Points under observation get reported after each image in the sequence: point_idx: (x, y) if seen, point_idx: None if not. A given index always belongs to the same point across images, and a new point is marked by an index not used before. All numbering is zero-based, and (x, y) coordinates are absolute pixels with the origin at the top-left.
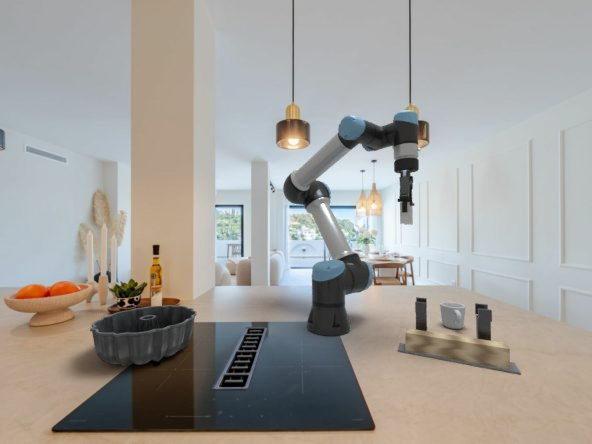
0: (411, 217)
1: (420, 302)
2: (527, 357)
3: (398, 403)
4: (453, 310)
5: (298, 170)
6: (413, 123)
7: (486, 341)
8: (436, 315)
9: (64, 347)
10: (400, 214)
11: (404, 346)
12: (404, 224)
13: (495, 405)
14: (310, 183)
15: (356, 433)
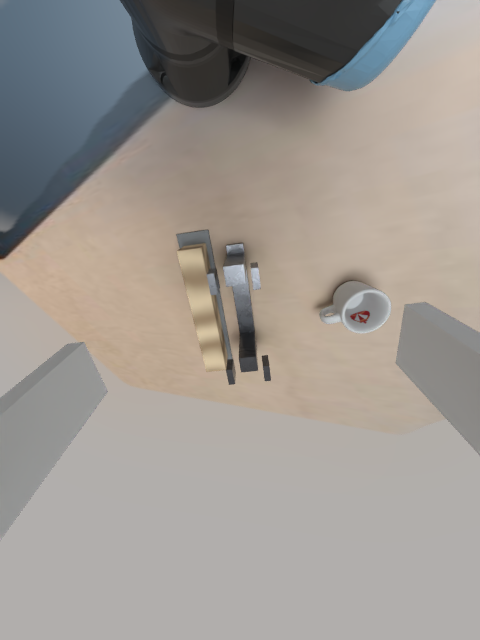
0: (435, 399)
1: (212, 284)
2: (263, 373)
3: (53, 268)
4: (339, 313)
5: None
6: None
7: (216, 352)
8: (419, 261)
9: None
10: (12, 391)
11: (197, 241)
12: (405, 307)
13: (125, 342)
14: None
15: None
